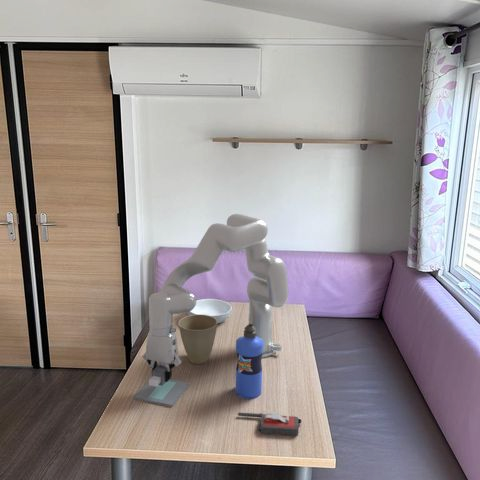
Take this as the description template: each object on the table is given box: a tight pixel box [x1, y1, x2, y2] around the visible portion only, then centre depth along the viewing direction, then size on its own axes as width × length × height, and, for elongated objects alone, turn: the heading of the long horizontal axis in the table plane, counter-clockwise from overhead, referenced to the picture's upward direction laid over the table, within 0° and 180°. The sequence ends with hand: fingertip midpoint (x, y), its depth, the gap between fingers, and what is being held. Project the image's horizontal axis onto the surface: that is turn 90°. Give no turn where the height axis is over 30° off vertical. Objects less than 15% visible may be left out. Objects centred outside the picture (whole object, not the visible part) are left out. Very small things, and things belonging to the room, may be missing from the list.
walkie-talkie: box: [237, 411, 302, 437], centre depth 144 cm, size 9×4×20 cm
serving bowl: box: [187, 298, 233, 324], centre depth 218 cm, size 21×21×7 cm
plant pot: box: [178, 314, 218, 365], centre depth 181 cm, size 15×15×16 cm
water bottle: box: [235, 323, 264, 400], centre depth 159 cm, size 9×9×25 cm
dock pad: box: [133, 378, 190, 408], centre depth 160 cm, size 14×14×1 cm
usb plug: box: [148, 362, 166, 387], centre depth 157 cm, size 10×4×4 cm, turn 163°
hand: (161, 378), depth 159 cm, fingers closed on usb plug, 4 cm apart
